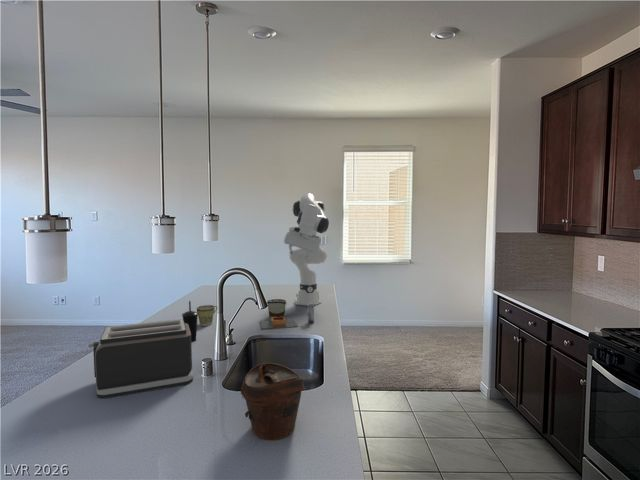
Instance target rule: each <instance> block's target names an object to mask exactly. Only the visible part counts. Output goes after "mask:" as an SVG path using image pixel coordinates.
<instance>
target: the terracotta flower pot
mask: <svg viewBox="0 0 640 480" xmlns="http://www.w3.org/2000/svg"><path fill="white" fill-rule="evenodd" d="M303 391H304V392H305V391H306V388H305V384H304V379H303V378H302V376H301V375H300V374H298V373H297V372H296V371H295V370H293V369H291V368H289V367H287V366H285V365H283V364H280V363H279V364H278V363H274V362H264V363H260V364H259V363H258V364H256V365H255V366H254V367H252V368H251V369H250V370H248V371H247V373H246V375H244V377H243V380H242V384H241V389H240V395H242V397H241V399H242V400H243V399H244V400H245V404H246V407H247V410H246V412H245V413H244V415H245V418H248V419H249V421H250V424H251V425H250V426H251V430H252V432H253V434H254V435H256V437H258V438H261V439H263V440H268V441H273V440H274V441H275V440H280V439H283V438H286V437H288V436H290V435H291V434H292V433H293V432H294V430H295V428H296V422H297V418H298V417H297V416H298V413H299V412H298V411H299V407H300V402H301V398H302V392H303Z"/></svg>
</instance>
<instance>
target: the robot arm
mask: <svg viewBox="0 0 640 480" xmlns="http://www.w3.org/2000/svg"><path fill="white" fill-rule="evenodd" d="M324 204H325V203H324V202H322V201H317V198H316V197H315V195H314V194H312V193H309V192H307V193H305V194H303V195H302V197H301V198H300V200H297V201H295V202H293V204H292V213H293V215H294V217H297V220H296V223H297V225H298V226H291V227H289V228H288V231H287V233H286V234H285V236H284V239H283V242H284V244H285V245H288V249H289V251H288V252H289V260H290V261H291V263H292V264H294V265H295V266H296V267H297V269H298V271H299V276H300V277H299V278H300V279H299V280H300V284H299V290H298V292H297V293H296V294H295V295H296V298H295V303H294V305H298V306H299V305H300V306H307V303H312V302H314V303H315V306H317V305H319V304H322V300H320V291H319V290H318V283H317V273H316V271H315V270H314V269H312V268H310V267H309V266H308V265H318V264H319V265H320V264H324V263H326V260H327V257H328V256H327V255H328V254H327V252H326V250H325V249H324V248H323V247H321V245H320V244H322V243H321V242H322V239H321V237H320V236H319V235H317V233H319V234H324V233H325V232H327V231H328V230H329V225H330V220H329V219H328V217H327V216H326V214H325V212H326V206H325V205H324ZM293 247H296V248H294V249H292V248H293ZM307 307H308V306H307Z"/></svg>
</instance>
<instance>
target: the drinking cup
mask: <svg viewBox="0 0 640 480" xmlns="http://www.w3.org/2000/svg"><path fill="white" fill-rule="evenodd" d="M191 305H192V304H191V300H190V301H188V306H189V307H188V309H189V310H188V311H185V312H183V313H182V314H181V316H182V319H184V323H186V324H188V325H189V328H190V332H191V343H194V342H196V341H197V330H198V329H197V327H198V318H199V317H198V313H197V311H194V310H192V309H191V308H192V307H191Z"/></svg>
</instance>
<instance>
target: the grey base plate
mask: <svg viewBox="0 0 640 480" xmlns="http://www.w3.org/2000/svg"><path fill="white" fill-rule="evenodd" d="M259 324H260V328H261V330H272V329H287V328H288V329H289V328H298V327H299V326H298V324H297V322H296V321H295V319H294V318H293V319H286V317H285V316H283V317H270V320H266V321H265V320H263V321H259Z"/></svg>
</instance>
